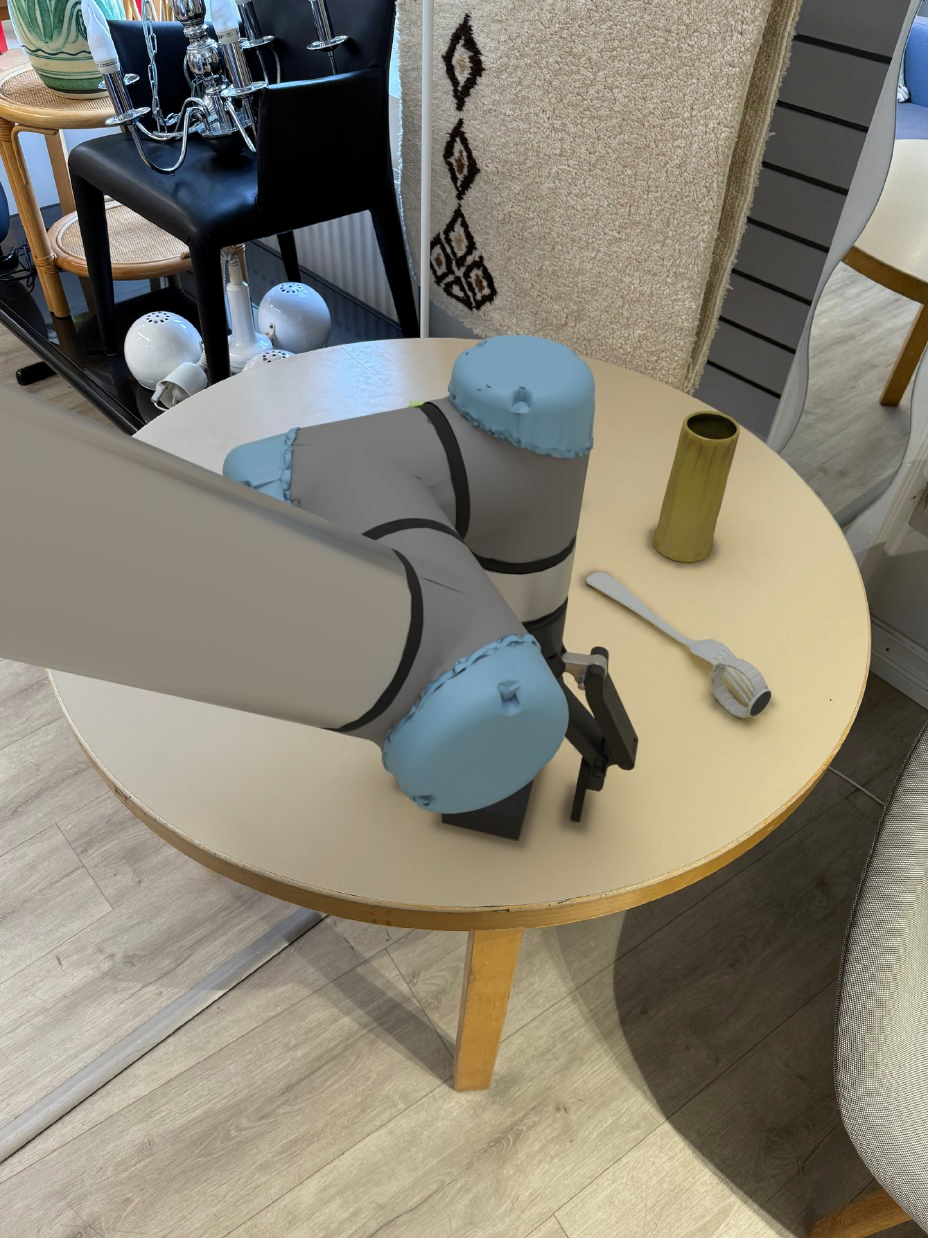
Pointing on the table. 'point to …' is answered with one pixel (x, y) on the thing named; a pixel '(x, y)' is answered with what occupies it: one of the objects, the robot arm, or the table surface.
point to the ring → (756, 680)
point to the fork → (670, 628)
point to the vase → (696, 486)
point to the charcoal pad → (496, 816)
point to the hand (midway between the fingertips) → (493, 787)
